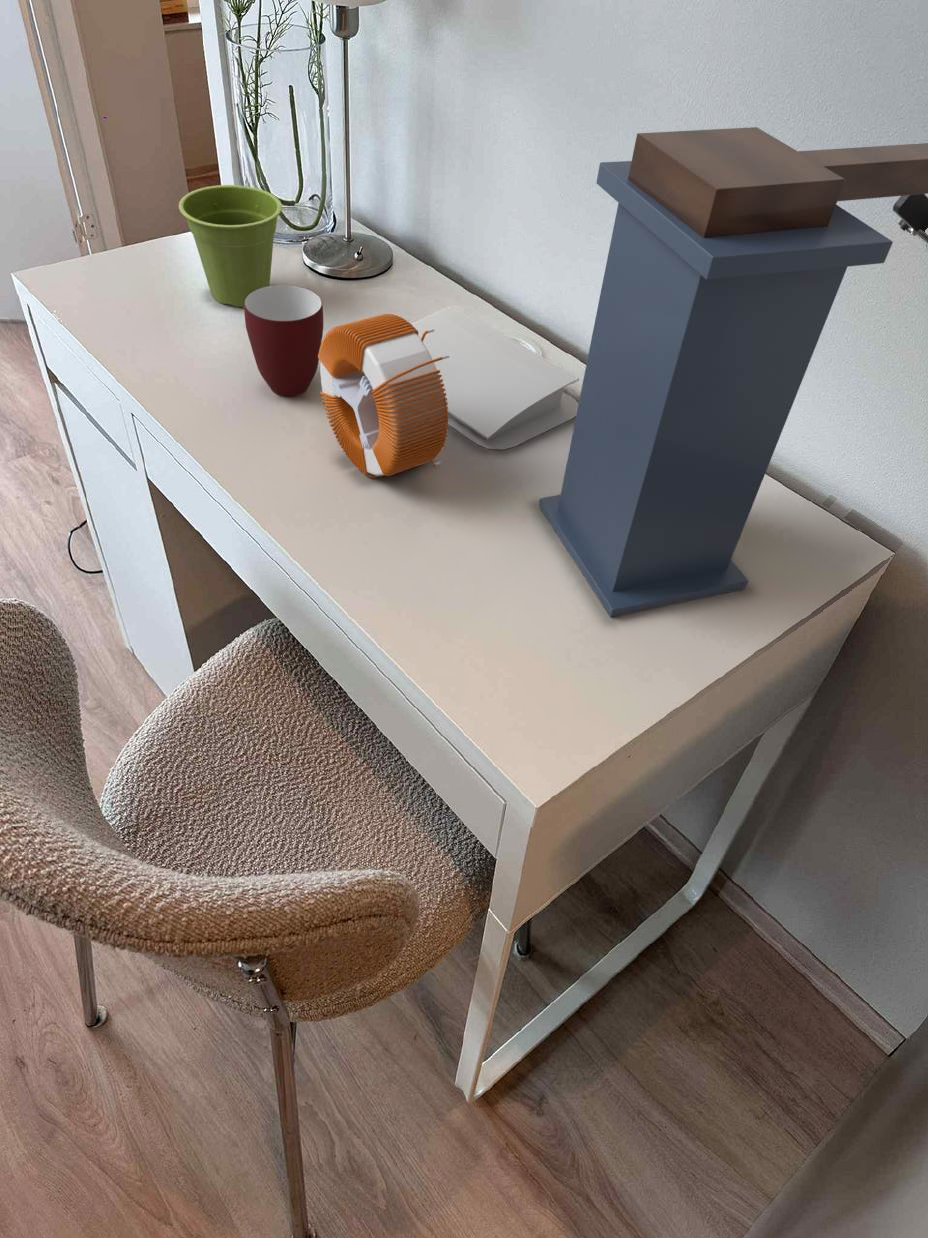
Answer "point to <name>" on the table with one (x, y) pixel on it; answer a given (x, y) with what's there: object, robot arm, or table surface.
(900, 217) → the robot arm
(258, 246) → the plant pot
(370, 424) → the coil
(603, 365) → the blue tapered column stand
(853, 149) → the paddle
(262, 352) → the mug
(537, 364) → the book
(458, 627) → the table surface
